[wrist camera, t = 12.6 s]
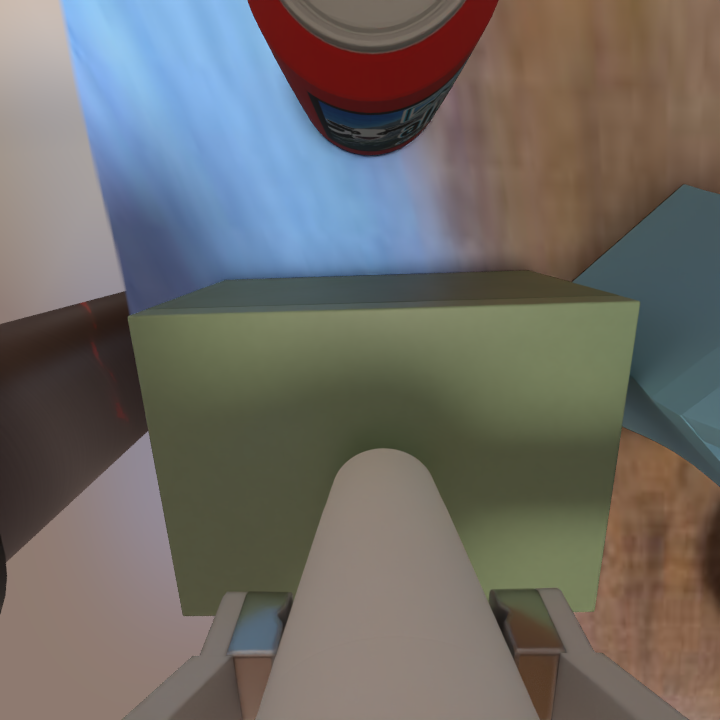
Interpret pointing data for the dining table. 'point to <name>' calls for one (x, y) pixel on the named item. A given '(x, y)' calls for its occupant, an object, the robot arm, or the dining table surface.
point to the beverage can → (371, 62)
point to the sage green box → (386, 418)
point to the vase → (672, 323)
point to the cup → (391, 611)
